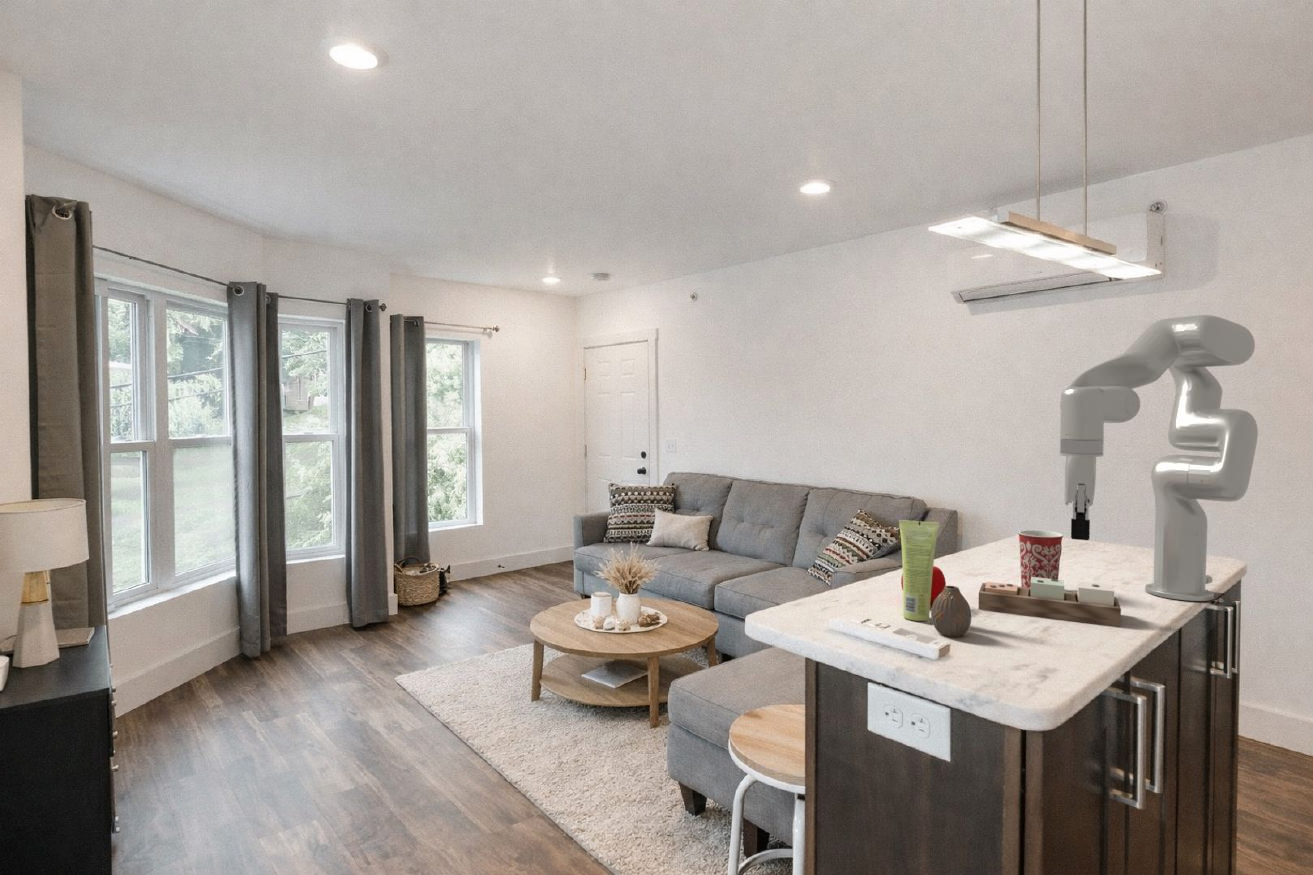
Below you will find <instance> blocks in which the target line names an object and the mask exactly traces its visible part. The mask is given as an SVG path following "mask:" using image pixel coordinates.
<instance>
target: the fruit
mask: <svg viewBox="0 0 1313 875" xmlns="http://www.w3.org/2000/svg"><path fill="white" fill-rule="evenodd" d="M900 580H901V581H900V583H901V590H902V591H903V573H902V574H901V579H900ZM945 586H947V582H946V577H945V575H944V573H943V571H942V570H941V568H939V567H938V566H934V565H933V574H932V586H931V599H930V606H932V605H933V603H934V601H935V599H936V598H937V597H938V596H939V594H940V593H941V592H942V591H943V589H944V587H945Z"/></svg>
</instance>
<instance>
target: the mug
mask: <svg viewBox="0 0 1313 875" xmlns="http://www.w3.org/2000/svg"><path fill="white" fill-rule="evenodd" d="M1017 534H1018V538H1019V539H1018V541H1019V557H1020V558H1019V562H1020V563H1019V564H1020V566H1019V567H1020V587H1027V588H1030V586H1031V577H1038V578H1048V579H1058V580H1059V574H1060V565H1061V564H1060V563H1061V562H1060V561H1061V556H1062V549H1063V548H1062V547H1063V546H1062V541H1063V537H1064V534H1062V533H1059V532H1056V531H1049V530H1039V529H1027V530H1026V529H1025V530H1020V531H1018V533H1017Z"/></svg>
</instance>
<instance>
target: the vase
mask: <svg viewBox="0 0 1313 875" xmlns="http://www.w3.org/2000/svg"><path fill="white" fill-rule="evenodd" d="M930 611H931V612H930V616H931V622H932V625H933V627H934V628H935V630H936V631H937V633H939V634H940V635H942V636H945V637H948V638H949V637H950V638H960V637H963V636H964V635H965V634H966V633H967V632H968V631H969V629H970V627H971V625H972V624H971V623H972V610H971V607H970V604H969V602H968V601H967V599H966V598H965V597H964V595H963V594H962V592H961V590H960V588H959V587H958V586H954V585H946V586H945V587H944V589H943V591H942V592H941V593H940V594H939V596H938V597H937V598H936V599H935V601H934V603H933V605H931V608H930Z"/></svg>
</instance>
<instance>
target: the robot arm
mask: <svg viewBox="0 0 1313 875" xmlns="http://www.w3.org/2000/svg"><path fill="white" fill-rule="evenodd" d="M1255 347H1256V343H1255V337H1254V335H1253V334H1252V332H1251V331H1250V330H1249V328H1247V327H1246V326H1244V325H1241V324H1239V323H1236V322H1235V321H1231V320H1229V319H1225V318H1223V317H1220V316H1216V315H1210V314H1209V315H1208V314H1199V315H1189V316H1182V317H1172V318H1171V317H1170V318H1162V319H1160V320H1157V321H1155V322H1153V323H1151V325H1149V326H1148V327H1147V328H1146V329H1145V331H1143V332H1142V333H1141V335H1139V336H1138V338H1137V339H1136V340H1135V341H1134V342H1133V343H1132V344H1131V345H1129V347H1128V348H1127V349H1126V350H1125V351H1124V352H1123V353H1121V354H1119V355H1116V356H1114V357H1111V358H1110V359H1108V360H1106V361H1104V362H1101V363H1099V364H1097V365H1096V366H1095V365H1094V366H1093V367H1091V368H1088V369H1087V370H1085V371H1083V372H1082V373H1081V374H1080V375H1078V376H1077V377H1076V378H1075V379H1074V380H1073V381H1072V382H1071V383H1070V385H1068V386H1067V388H1065V389H1063V390H1062V391H1061V394H1060V401H1059V402H1060V403H1059V408H1060V430H1059V431H1060V433H1059V434H1060V435H1059V436H1060V440H1059V441H1060V442H1059V450H1060V451H1059V455H1060V456H1064V457H1065V462H1064V464H1065V465H1064V466H1065V467H1064V504H1065V505H1066V506H1069V504H1072V518H1071V519H1070V520H1071V521H1070V524H1071V526H1070V528H1071V529H1070V538H1071V539H1072V540H1077V541H1078V540H1079V541H1089V540H1090V535H1091V534H1090V532H1091V530H1090V528H1091V525H1090V524H1091V522H1090V521H1091V520H1090V519H1089V516H1090V515H1089V512H1090V509H1089V508H1090V507H1091V506H1093V505H1094V498H1095V493H1096V492H1095V490H1096V480H1097V478H1096V477H1097V476H1096V474H1097V458H1098V457H1099V458H1100V457H1104V441H1105V440H1104V438H1105V437H1104V433H1105V432H1104V430H1105V424H1120V423H1126V422H1128V421H1131V420H1133V419H1134V418H1135V417H1136V416H1137V415H1138V413H1139V412H1140V409H1141V399H1140V396H1139V395H1138V393H1137V392H1136V391H1135V390H1133V389H1137V388H1141V387H1143V386H1147V385H1150V384H1152V383H1154V382H1157V381H1158V380H1159V379H1160V378H1161V377H1162V375H1164V373H1165V372H1166V371H1167V370H1169V372H1170V374H1171V377H1172V379H1173V381H1174V385H1175V396H1174V400H1173V401H1174V402H1173V405H1172V410H1171V415H1170V422H1169V425H1168V426H1169V427H1168V433H1167V438H1168V442H1169V444H1170V445H1171V446H1172V447H1173V448H1175V449H1179V450H1181V451H1190V452H1191V451H1193V452H1209V453H1219V454H1220V456H1202V455H1192V454H1191V455H1189V454H1188V455H1187V454H1171V455H1166V456H1162V457H1160V458H1158V459H1157V460H1156V461H1155V462H1154V463H1153V465H1152V467H1151V471H1150V472H1151V474H1150V478H1151V483H1152V488H1153V494H1154V503H1155V504H1154V506H1155V512H1154V513H1155V514H1154V516H1155V519H1154V521H1155V522H1154V554H1153V583H1152V582H1151V583H1148V584H1145V587H1144V590H1145V591H1146V592H1147V593H1149V594H1151V595H1153V596H1157V597H1162V598H1166V599H1171V600H1179V601H1188V602H1189V601H1190V602H1208V601H1212V600H1214V599H1215V594H1214V592H1212V591H1210V590H1208V589H1206V585H1208V584H1209V585H1210V584H1211V583H1212V582H1213V581H1214V579H1213V577H1212V576H1211V575H1209V574H1207V553H1208V552H1207V551H1208V550H1207V548H1208V547H1207V546H1208V517H1207V514H1206V512H1205V510H1204V508H1203V506H1201V504H1200V503H1199V502H1198V500H1204V501H1212V502H1213V501H1216V502H1226V503H1227V502H1229V503H1230V502H1237V501H1239V500H1241V499H1242V498H1243V497H1244V496H1245V494H1246V493H1247V491H1248V488H1249V484H1250V479H1251V474H1252V470H1253V466H1254V465H1253V464H1254V460H1255V455H1256V454H1255V453H1256V448H1257V443H1258V434H1259V433H1258V432H1259V430H1258V424H1257V420H1256V419H1255V417H1254V415H1253V414H1251V413H1250V412H1249V411H1246V410H1244V409H1238V408H1237V409H1236V408H1221V403H1222V397H1223V387H1222V385H1221V384H1220V382H1219V381H1218V379H1217V378H1216V377H1215V375H1213V374H1212V373H1211V372H1210V371H1209V369H1208V367H1213V368H1214V367H1231V366H1232V367H1233V366H1239V365H1242V364H1245V363H1247V362H1248V361H1249V360H1250V359H1251V358H1252V356H1253V354H1254V352H1255Z"/></svg>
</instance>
